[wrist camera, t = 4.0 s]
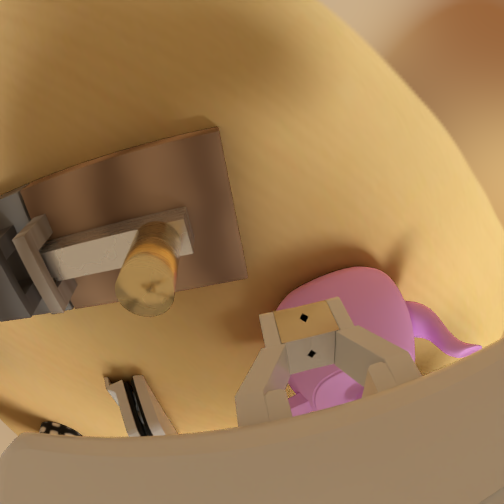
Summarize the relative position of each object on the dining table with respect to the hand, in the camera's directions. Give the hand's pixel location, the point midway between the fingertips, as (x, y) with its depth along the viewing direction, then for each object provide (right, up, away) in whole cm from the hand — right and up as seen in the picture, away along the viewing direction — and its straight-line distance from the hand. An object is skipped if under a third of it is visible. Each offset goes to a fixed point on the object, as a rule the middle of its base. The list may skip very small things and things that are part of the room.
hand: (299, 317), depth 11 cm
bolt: (-12, +3, +9) cm, 15 cm away
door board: (-14, +4, +11) cm, 18 cm away
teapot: (+7, -4, +19) cm, 20 cm away
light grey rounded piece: (-14, -18, +25) cm, 34 cm away
